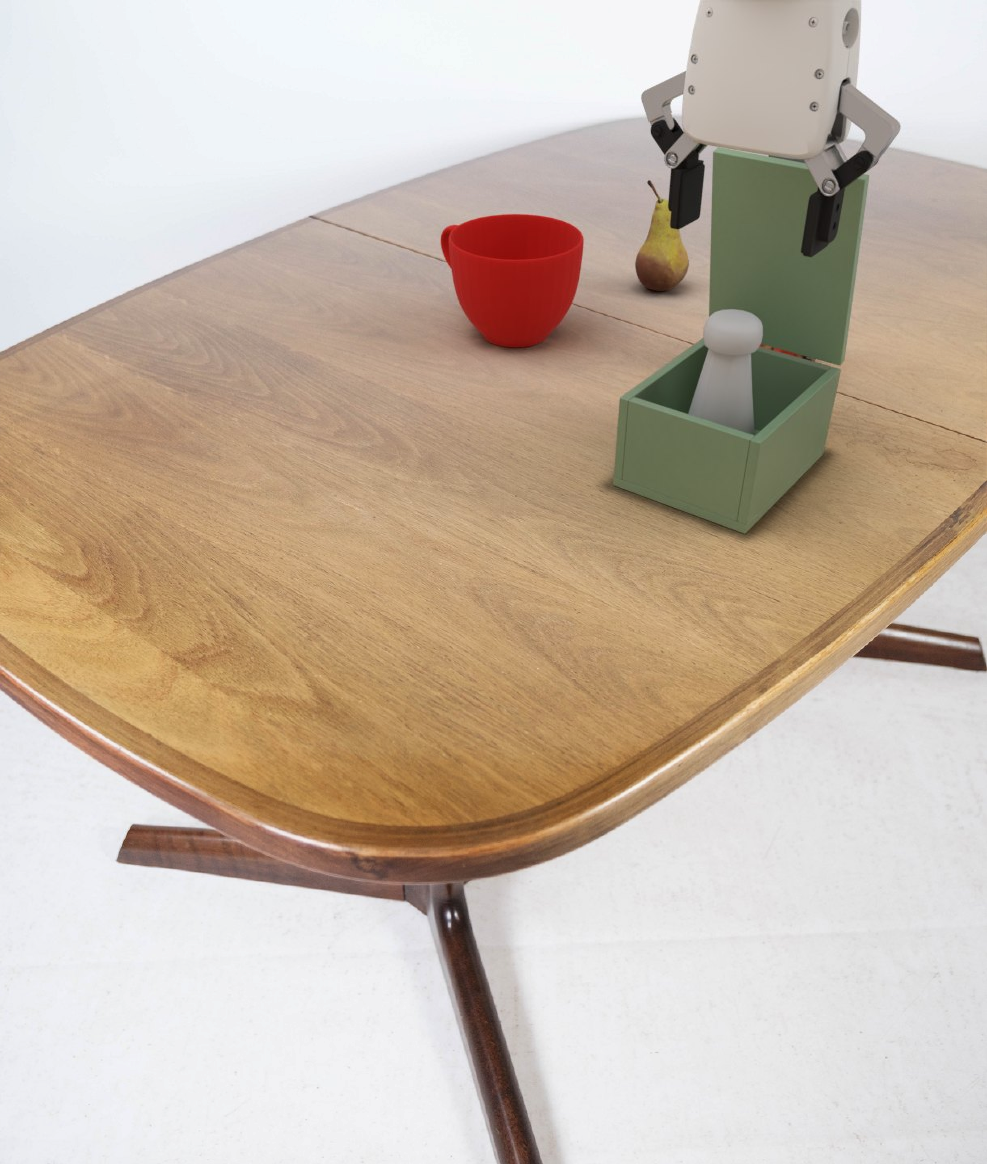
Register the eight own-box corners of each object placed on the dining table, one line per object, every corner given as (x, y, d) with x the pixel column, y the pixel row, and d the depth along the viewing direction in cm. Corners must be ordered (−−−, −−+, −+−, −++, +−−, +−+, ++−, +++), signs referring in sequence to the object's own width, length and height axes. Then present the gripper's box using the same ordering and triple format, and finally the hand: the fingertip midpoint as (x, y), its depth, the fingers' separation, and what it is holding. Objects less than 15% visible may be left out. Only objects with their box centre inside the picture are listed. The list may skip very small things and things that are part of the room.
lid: (865, 179, 74) (894, 148, 76) (712, 151, 79) (744, 122, 82) (840, 366, 85) (866, 333, 87) (708, 329, 90) (736, 299, 93)
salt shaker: (764, 480, 85) (791, 325, 77) (701, 494, 83) (722, 338, 76) (725, 445, 89) (747, 295, 82) (664, 458, 88) (681, 307, 80)
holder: (745, 534, 80) (760, 443, 76) (612, 485, 86) (619, 397, 81) (823, 454, 90) (841, 368, 85) (699, 414, 95) (709, 332, 91)
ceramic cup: (489, 288, 119) (488, 196, 113) (605, 334, 109) (611, 236, 103) (399, 322, 111) (393, 226, 105) (515, 374, 102) (516, 271, 96)
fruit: (684, 300, 116) (696, 186, 109) (631, 296, 117) (639, 183, 110) (687, 280, 120) (699, 170, 113) (636, 277, 121) (644, 167, 114)
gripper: (953, -51, 61) (892, 246, 72) (684, -66, 70) (663, 201, 80) (907, -37, 57) (848, 280, 67) (624, -55, 65) (610, 228, 75)
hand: (747, 237), depth 73 cm, fingers open, 9 cm apart
